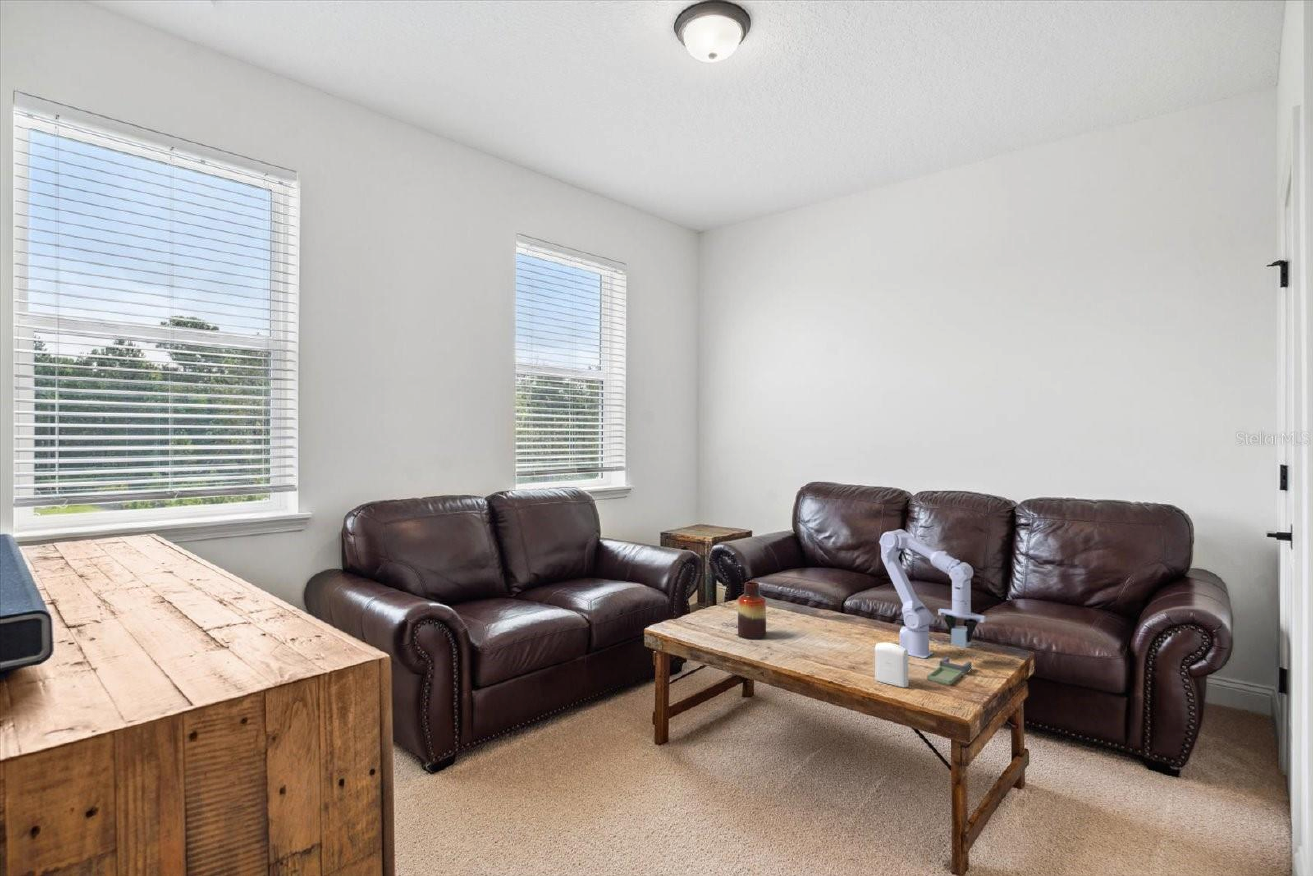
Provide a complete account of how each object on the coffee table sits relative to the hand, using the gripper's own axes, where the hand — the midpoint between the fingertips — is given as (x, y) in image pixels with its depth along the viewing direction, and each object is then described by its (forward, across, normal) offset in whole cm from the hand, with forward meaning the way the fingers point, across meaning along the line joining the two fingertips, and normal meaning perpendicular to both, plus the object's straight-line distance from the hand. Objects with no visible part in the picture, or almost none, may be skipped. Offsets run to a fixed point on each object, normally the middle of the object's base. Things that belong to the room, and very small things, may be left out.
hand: (961, 639), depth 222 cm
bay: (+8, 0, +6) cm, 10 cm away
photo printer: (+9, +11, +32) cm, 35 cm away
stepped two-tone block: (+2, 0, -1) cm, 2 cm away
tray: (+8, 0, +16) cm, 18 cm away
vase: (+9, +71, +19) cm, 74 cm away
